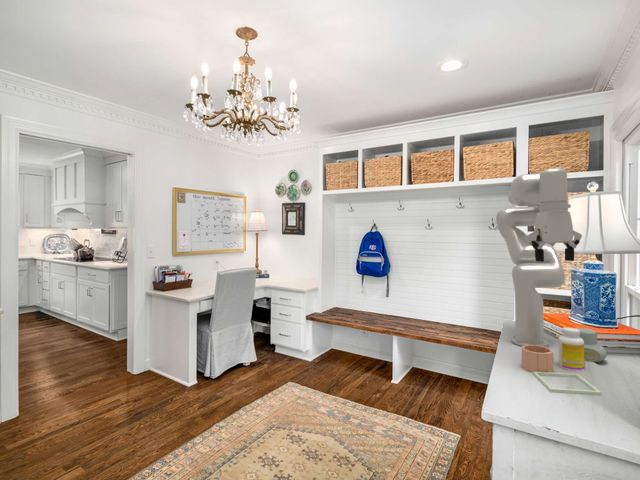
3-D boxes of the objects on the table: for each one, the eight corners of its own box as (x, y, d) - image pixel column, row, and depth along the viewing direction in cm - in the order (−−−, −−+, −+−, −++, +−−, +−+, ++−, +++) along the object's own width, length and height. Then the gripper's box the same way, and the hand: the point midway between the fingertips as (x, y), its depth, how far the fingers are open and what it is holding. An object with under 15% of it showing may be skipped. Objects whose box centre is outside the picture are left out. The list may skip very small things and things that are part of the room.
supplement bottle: (589, 374, 107) (588, 332, 106) (565, 372, 108) (564, 331, 108) (577, 365, 113) (577, 326, 113) (555, 364, 115) (554, 326, 114)
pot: (517, 365, 115) (517, 344, 115) (546, 366, 113) (546, 345, 113) (527, 375, 107) (526, 352, 107) (559, 377, 105) (558, 354, 105)
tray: (533, 376, 106) (533, 371, 106) (577, 379, 103) (577, 373, 103) (550, 395, 94) (550, 389, 94) (601, 398, 91) (601, 392, 91)
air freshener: (566, 360, 118) (566, 331, 118) (566, 353, 125) (566, 325, 125) (608, 366, 112) (608, 335, 112) (605, 358, 119) (605, 329, 119)
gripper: (571, 208, 116) (572, 259, 116) (520, 209, 115) (521, 261, 115) (589, 206, 108) (590, 261, 108) (534, 207, 108) (535, 262, 108)
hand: (554, 261), depth 112 cm, fingers open, 9 cm apart
